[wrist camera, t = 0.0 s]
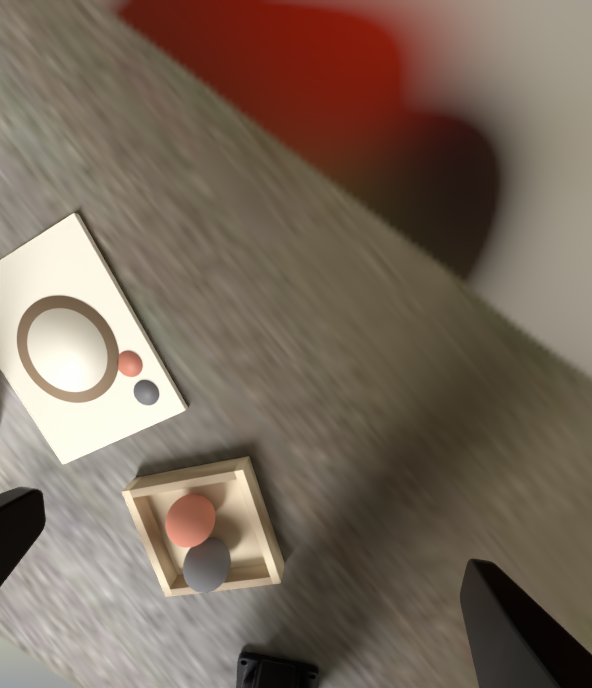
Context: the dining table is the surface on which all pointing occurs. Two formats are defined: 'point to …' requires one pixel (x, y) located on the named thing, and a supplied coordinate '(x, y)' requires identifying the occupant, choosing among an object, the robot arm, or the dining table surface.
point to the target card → (78, 345)
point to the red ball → (190, 520)
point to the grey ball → (207, 565)
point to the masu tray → (230, 524)
